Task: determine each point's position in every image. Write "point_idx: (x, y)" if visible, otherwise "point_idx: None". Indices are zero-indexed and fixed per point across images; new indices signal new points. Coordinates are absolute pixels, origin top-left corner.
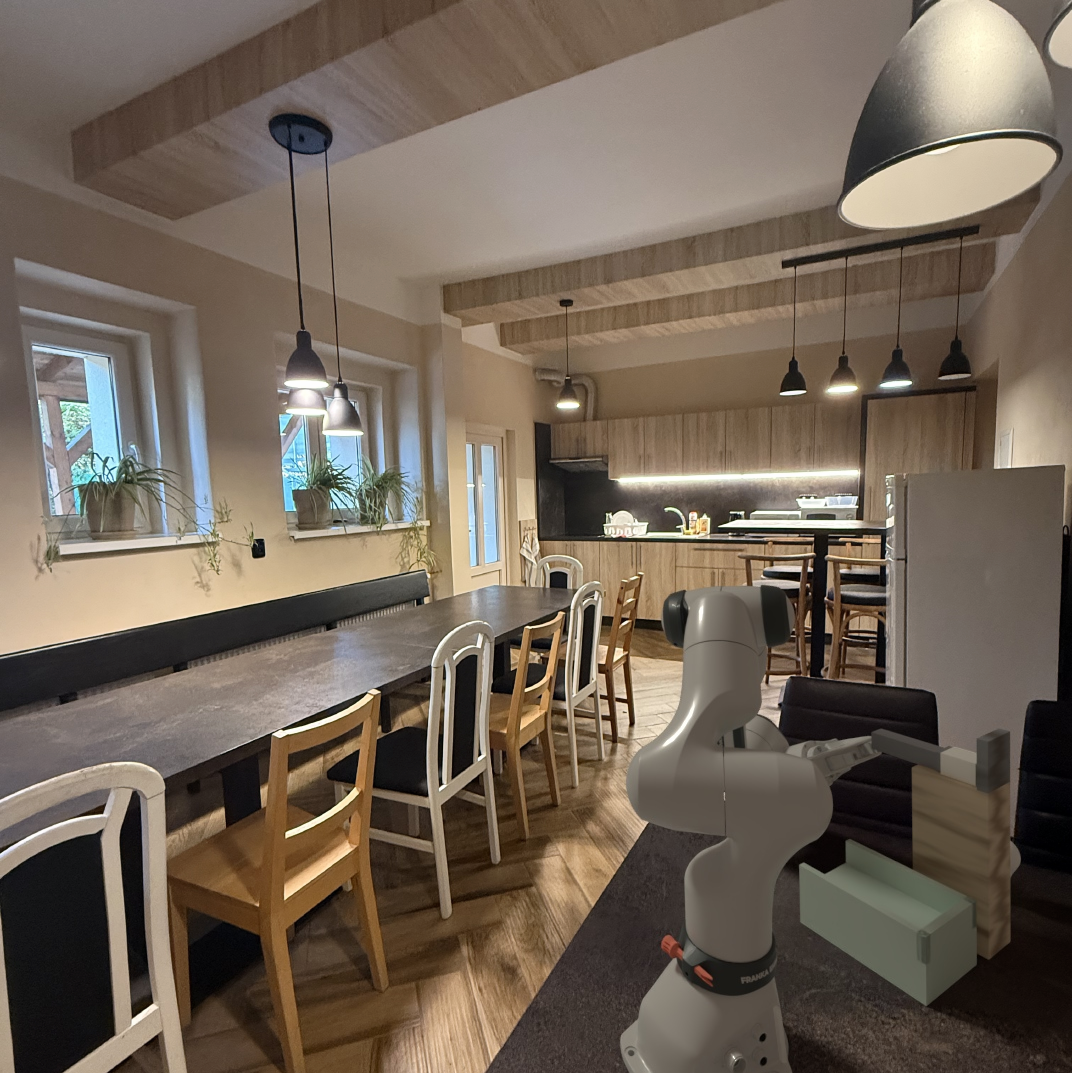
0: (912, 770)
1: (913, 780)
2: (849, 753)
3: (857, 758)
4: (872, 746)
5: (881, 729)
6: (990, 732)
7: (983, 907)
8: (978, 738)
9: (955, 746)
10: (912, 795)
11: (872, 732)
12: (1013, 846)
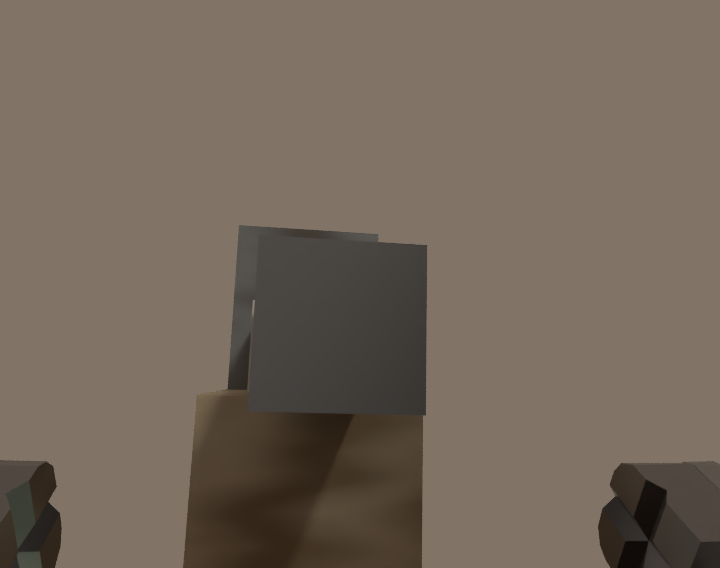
0: (422, 416)
1: (419, 470)
2: (711, 462)
3: (613, 517)
4: (425, 388)
5: (280, 241)
6: (296, 229)
7: None
8: (372, 234)
9: (254, 300)
10: (420, 561)
11: (423, 248)
12: None
